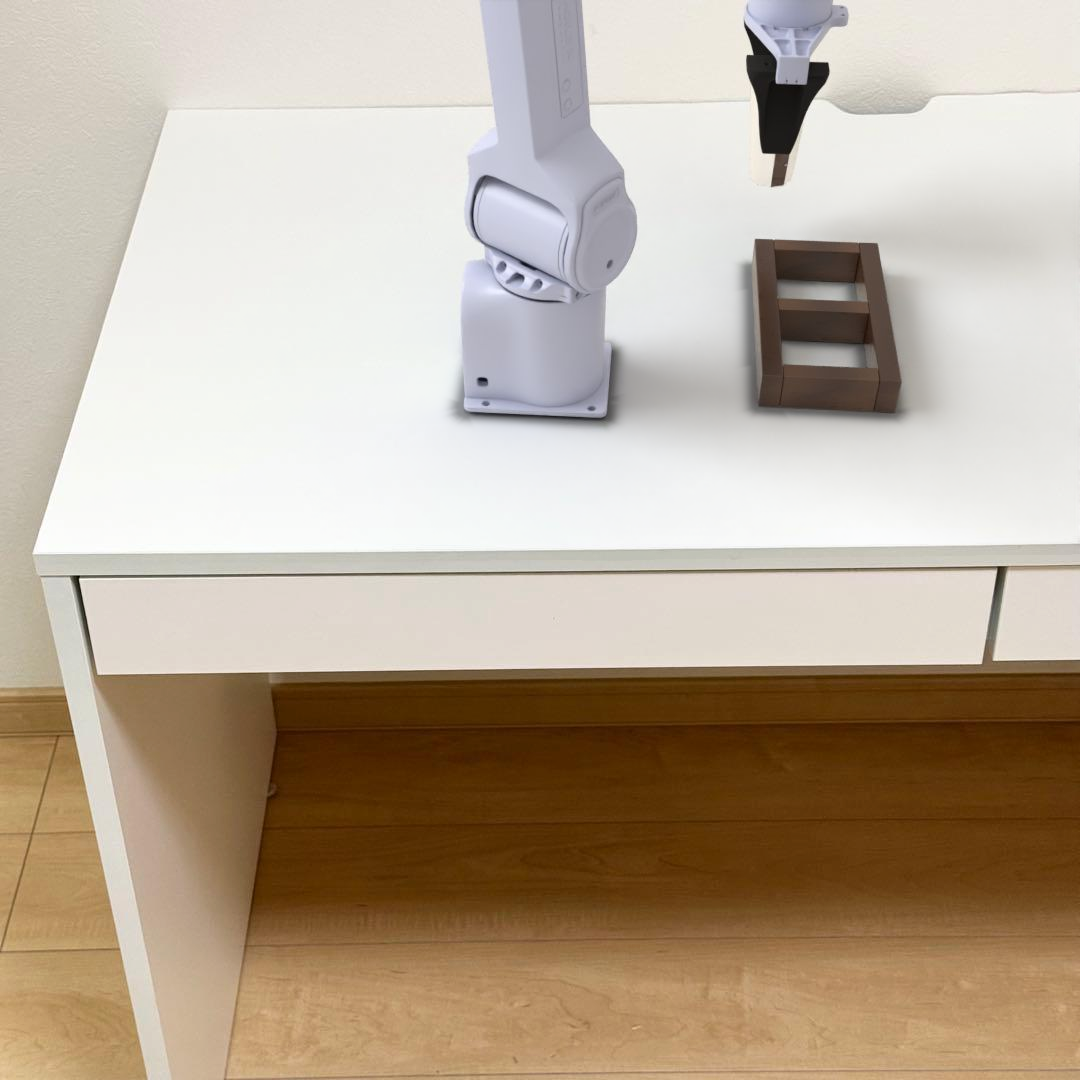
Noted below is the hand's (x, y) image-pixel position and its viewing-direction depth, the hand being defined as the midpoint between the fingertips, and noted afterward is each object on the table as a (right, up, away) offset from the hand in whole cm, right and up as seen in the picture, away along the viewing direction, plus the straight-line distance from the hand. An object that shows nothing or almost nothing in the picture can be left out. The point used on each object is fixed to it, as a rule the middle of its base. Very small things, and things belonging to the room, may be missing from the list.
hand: (774, 133), depth 100 cm
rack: (+2, -16, -4) cm, 16 cm away
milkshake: (0, -3, +3) cm, 4 cm away
